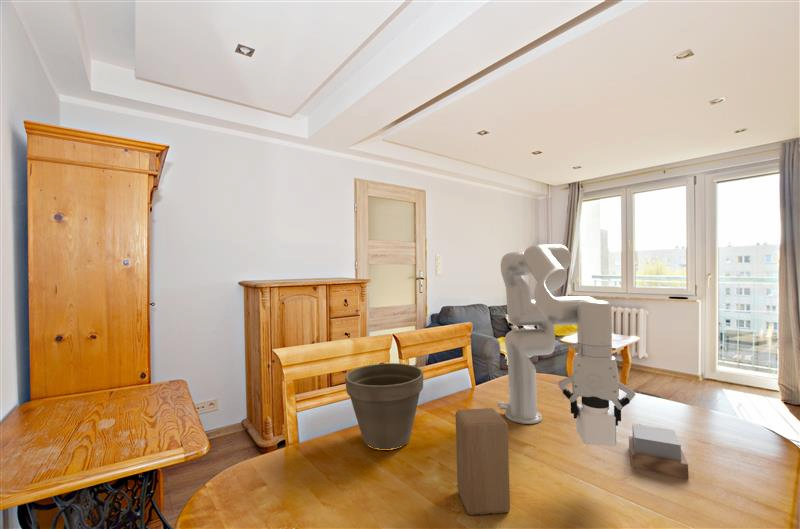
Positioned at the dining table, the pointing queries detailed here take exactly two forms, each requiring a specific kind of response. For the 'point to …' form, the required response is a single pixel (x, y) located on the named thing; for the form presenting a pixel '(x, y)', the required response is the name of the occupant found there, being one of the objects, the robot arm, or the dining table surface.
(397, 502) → the dining table surface
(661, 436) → the tower top
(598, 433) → the medicine bottle
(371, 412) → the plant pot
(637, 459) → the tower base
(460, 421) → the wooden block
